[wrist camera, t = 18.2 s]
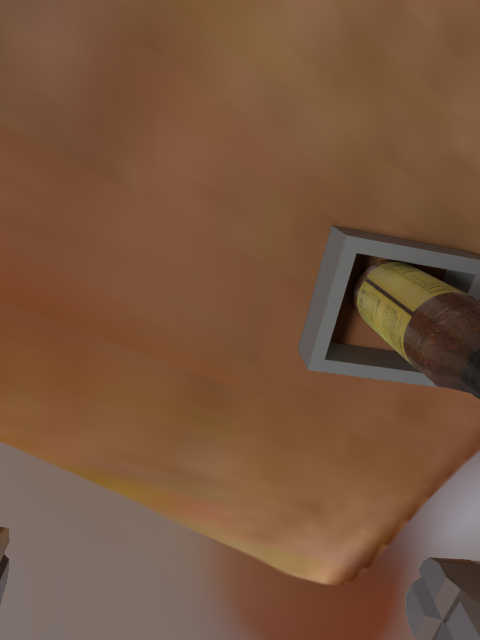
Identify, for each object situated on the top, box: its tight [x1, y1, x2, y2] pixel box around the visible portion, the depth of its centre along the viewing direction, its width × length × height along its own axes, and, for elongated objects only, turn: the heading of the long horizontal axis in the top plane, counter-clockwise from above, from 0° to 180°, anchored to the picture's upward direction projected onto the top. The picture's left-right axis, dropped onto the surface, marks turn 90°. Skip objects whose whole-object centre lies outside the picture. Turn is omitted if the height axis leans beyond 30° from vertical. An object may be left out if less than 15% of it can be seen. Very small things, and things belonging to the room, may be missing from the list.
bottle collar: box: [298, 226, 480, 388], centre depth 39 cm, size 12×13×4 cm
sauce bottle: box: [353, 260, 480, 399], centre depth 31 cm, size 7×6×20 cm
